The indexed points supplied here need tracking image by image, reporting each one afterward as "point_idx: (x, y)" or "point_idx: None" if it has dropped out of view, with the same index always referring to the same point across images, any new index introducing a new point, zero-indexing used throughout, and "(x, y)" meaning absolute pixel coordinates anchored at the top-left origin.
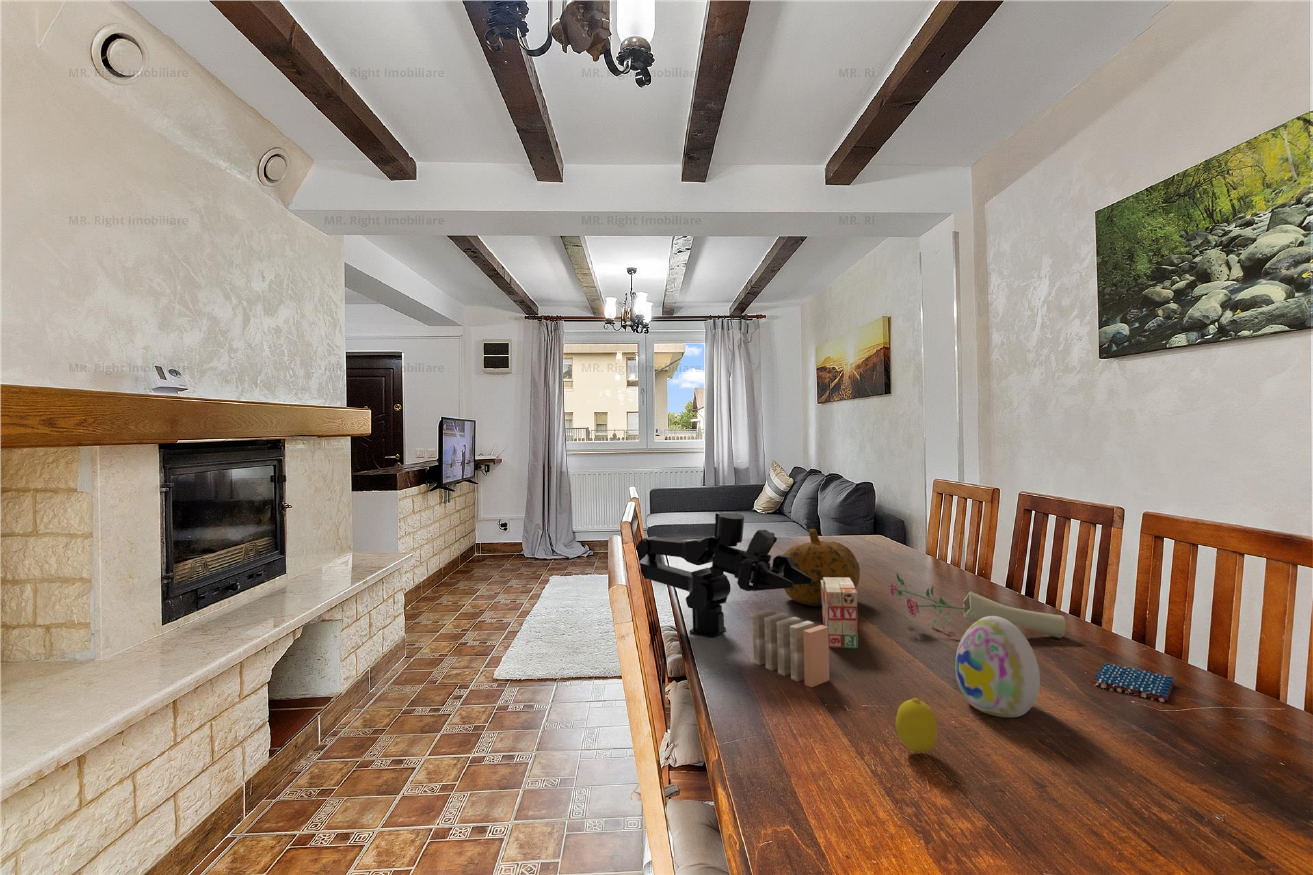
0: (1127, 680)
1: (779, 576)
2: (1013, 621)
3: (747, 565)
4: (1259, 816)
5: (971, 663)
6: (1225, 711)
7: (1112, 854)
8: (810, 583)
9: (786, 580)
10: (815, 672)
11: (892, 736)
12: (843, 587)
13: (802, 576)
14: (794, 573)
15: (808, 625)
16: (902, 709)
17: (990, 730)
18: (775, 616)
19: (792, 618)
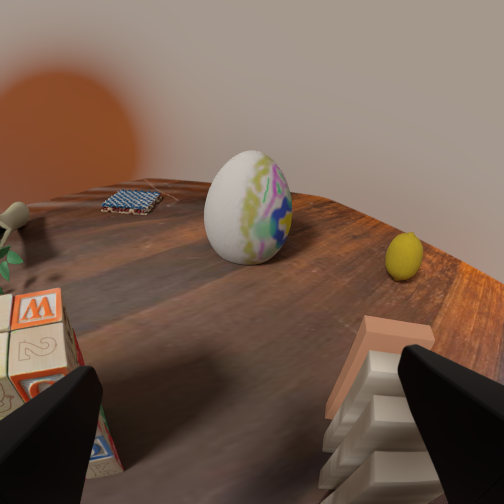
0: (140, 199)
1: (483, 382)
2: (15, 226)
3: None
4: (295, 196)
5: (289, 208)
6: (162, 188)
7: (383, 224)
8: (102, 393)
9: (444, 358)
10: None
11: (392, 297)
12: (8, 320)
13: (63, 422)
14: (25, 482)
15: (392, 356)
16: (421, 247)
17: (304, 253)
18: (429, 464)
19: (395, 413)
